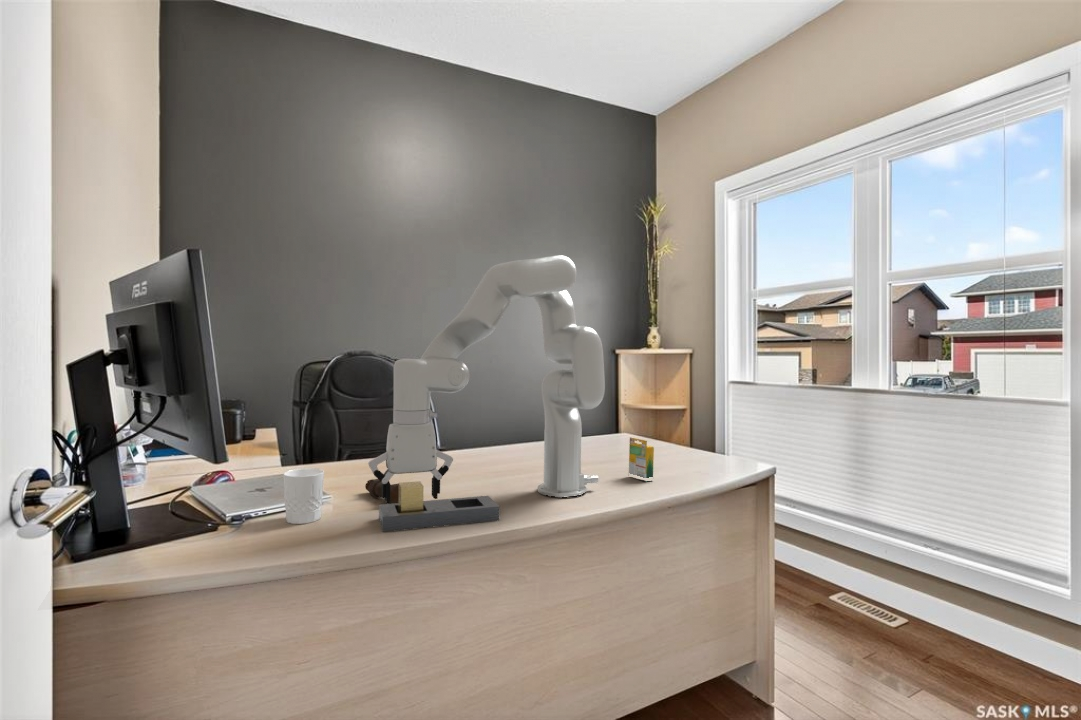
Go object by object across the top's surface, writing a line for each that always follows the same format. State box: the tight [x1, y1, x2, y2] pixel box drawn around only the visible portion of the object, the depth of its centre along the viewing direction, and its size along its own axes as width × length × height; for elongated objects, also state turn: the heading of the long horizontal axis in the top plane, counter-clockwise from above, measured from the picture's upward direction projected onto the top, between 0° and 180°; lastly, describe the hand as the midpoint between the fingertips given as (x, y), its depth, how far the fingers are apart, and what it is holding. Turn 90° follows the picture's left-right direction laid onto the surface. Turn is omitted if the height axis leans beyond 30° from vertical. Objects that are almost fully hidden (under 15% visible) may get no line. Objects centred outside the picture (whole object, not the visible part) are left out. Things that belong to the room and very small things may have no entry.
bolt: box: [364, 478, 400, 504], centre depth 132 cm, size 6×5×15 cm
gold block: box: [398, 480, 425, 513], centre depth 115 cm, size 4×4×8 cm
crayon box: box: [628, 437, 655, 478], centre depth 157 cm, size 7×3×12 cm, turn 32°
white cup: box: [282, 467, 325, 525], centre depth 116 cm, size 8×8×10 cm
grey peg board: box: [378, 495, 500, 533], centre depth 117 cm, size 24×9×3 cm, turn 111°
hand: (411, 499), depth 115 cm, fingers open, 9 cm apart
